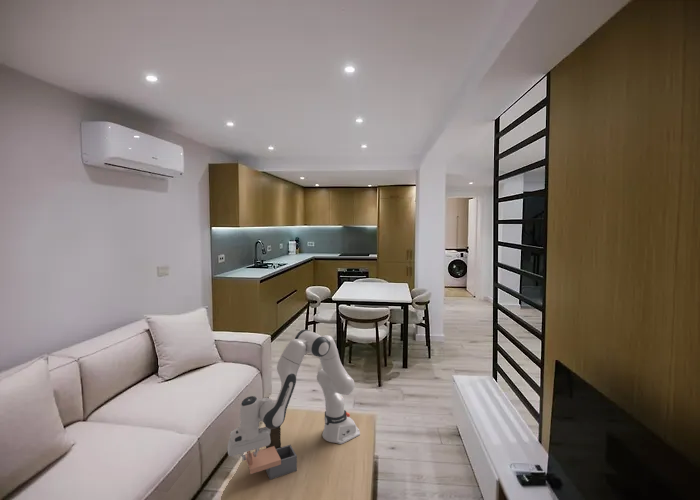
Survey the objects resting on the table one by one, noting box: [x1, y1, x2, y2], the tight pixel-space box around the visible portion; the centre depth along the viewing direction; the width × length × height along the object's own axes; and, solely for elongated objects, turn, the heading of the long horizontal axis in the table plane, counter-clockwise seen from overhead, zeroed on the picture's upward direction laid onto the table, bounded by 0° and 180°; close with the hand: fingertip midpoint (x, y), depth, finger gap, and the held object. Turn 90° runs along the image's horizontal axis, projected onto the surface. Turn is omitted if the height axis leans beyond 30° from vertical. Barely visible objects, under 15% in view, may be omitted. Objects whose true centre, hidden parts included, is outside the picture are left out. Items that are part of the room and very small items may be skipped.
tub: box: [264, 444, 298, 481], centre depth 181 cm, size 14×10×8 cm
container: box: [264, 424, 282, 449], centre depth 192 cm, size 9×9×18 cm
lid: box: [244, 446, 281, 475], centre depth 177 cm, size 15×12×6 cm
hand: (249, 457), depth 173 cm, fingers open, 4 cm apart
